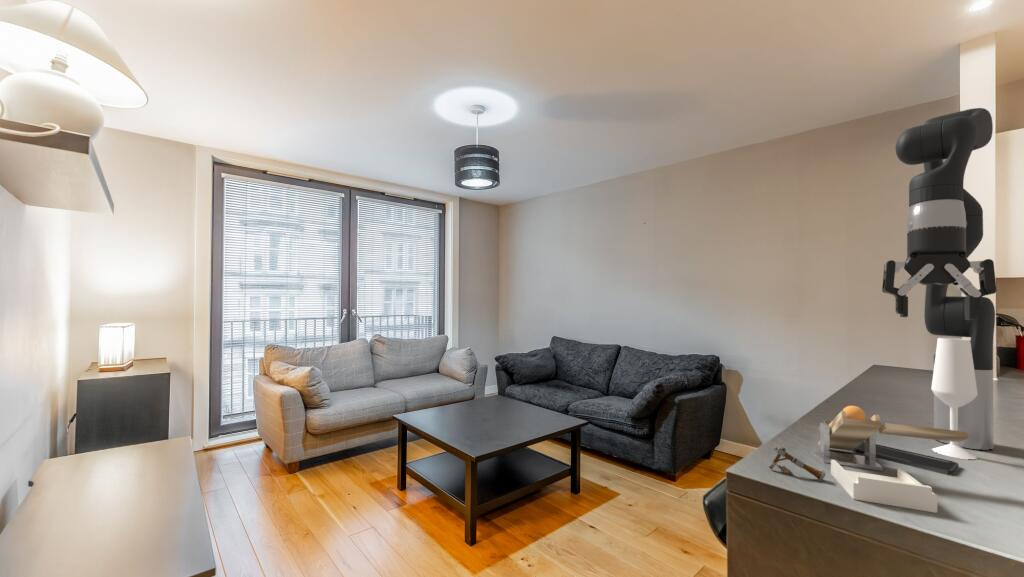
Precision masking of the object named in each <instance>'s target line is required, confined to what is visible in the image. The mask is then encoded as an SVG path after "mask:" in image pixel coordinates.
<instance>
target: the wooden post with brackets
mask: <svg viewBox="0 0 1024 577" xmlns="http://www.w3.org/2000/svg"><path fill="white" fill-rule="evenodd" d="M773 450H774V451H775V453H776V456H775V457H774V458H773V460H772V461H771V462H770V463H769V464H770V465H769V466H768V468H769V469H771V470H773V468H775V466H776V467H777V468H778V469H780V472H781V473H782V472H783V473H784V474H786V473H787V474H786V475H790V474H793V471H791V469H790V468H787V467H786V466H785V465H781V464H777V463H778V462H781V461H786V460H788V461H790V463H792V464H794V465H795V466H798V467H799V468H800V469H802V470H805V471H806V472H808V473H809V474H811V475H813V476H814V477H815V478H816V479H817V481H818V482H819V483H822V482H823V480H824V478H825V477H826V475H827V473H826V470H824V469H822V470H818V469H816V468H814V467H812V466H810V465H808V464H807V463H805V462H804V461H802V460H800V459H799V458H798V457H797V458H796V456H794V455H791V454H789V452H787V451H786V448H785V447H782V448H781V447H780V446H774V447H773ZM781 456H782V457H783V458H781Z"/></svg>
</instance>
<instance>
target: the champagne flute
mask: <svg viewBox="0 0 1024 577" xmlns="http://www.w3.org/2000/svg"><path fill="white" fill-rule="evenodd" d="M970 340H971V339H967V338H966V339H965V338H956V337H955V338H953V337H937V340H936V341H937V342H936V348H935V353H936V356H935V363H934V362H933V372H932V379H931V386H930V387H931V391H932V393H933V395H934V394H935V395H936V396H937V397H938V398H939V399H940V400H941V401H942V402H944V403H945V404H946V405H948V406H950V430H956V431H958V407H962V406H964V405H966V404H968V403H969V402H971V401H972V400H974V399H975V398H976V396H977V394H978V393H977V386H976V379H975V372H974V365H973V357H972V350H971V343H970ZM932 450H933V451H932ZM931 451H932V452H935V453H936V452H937V453H936V454H939V455H942V456H945V457H950V458H954V459H961V460H968V459H975V458H976V457H977V456H975V455H974V454H972V453H971V452H970V451H968V450H967V449H965V448H964V447H960V446H958V442H951V441H950V444H947V443H946V444H945V445H941V446H937V447H934V448H931Z"/></svg>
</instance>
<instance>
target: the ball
mask: <svg viewBox="0 0 1024 577" xmlns="http://www.w3.org/2000/svg"><path fill="white" fill-rule="evenodd" d="M842 411H845V412H846V417H847V418H852V419H862V420H867V416H866V415H867V414H866V413H865V411H864V410H863V409H862V408H860V407H859V406H856V405H848V406H845V407H844V408H843V409H842Z"/></svg>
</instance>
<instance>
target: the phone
mask: <svg viewBox="0 0 1024 577" xmlns="http://www.w3.org/2000/svg"><path fill="white" fill-rule="evenodd" d="M851 452H853V453H856V454H858V455H859V454H860V455H862V456H865V441H864V442H862V443H861V444H860V445H858V446H857V447H856V448H854V449H853V450H852V451H851ZM876 459H881V460H885V461H889V462H892V463H897V464H901V465H905V466H910V467H913V468H916V469H920V470H921V469H922V470H926V471H930V472H933V473H937V474H941V475H947V476H954V475H955V474H956V473H957V471H958V470H959V463H958V462H955V461H953V460H949V459H948V460H947V459H943V458H939V457H936V456H930V455H925V454H922V453H917V452H912V451H907V450H903V449H899V448H895V447H890V446H886V445H881V444H877V443H876Z"/></svg>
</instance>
